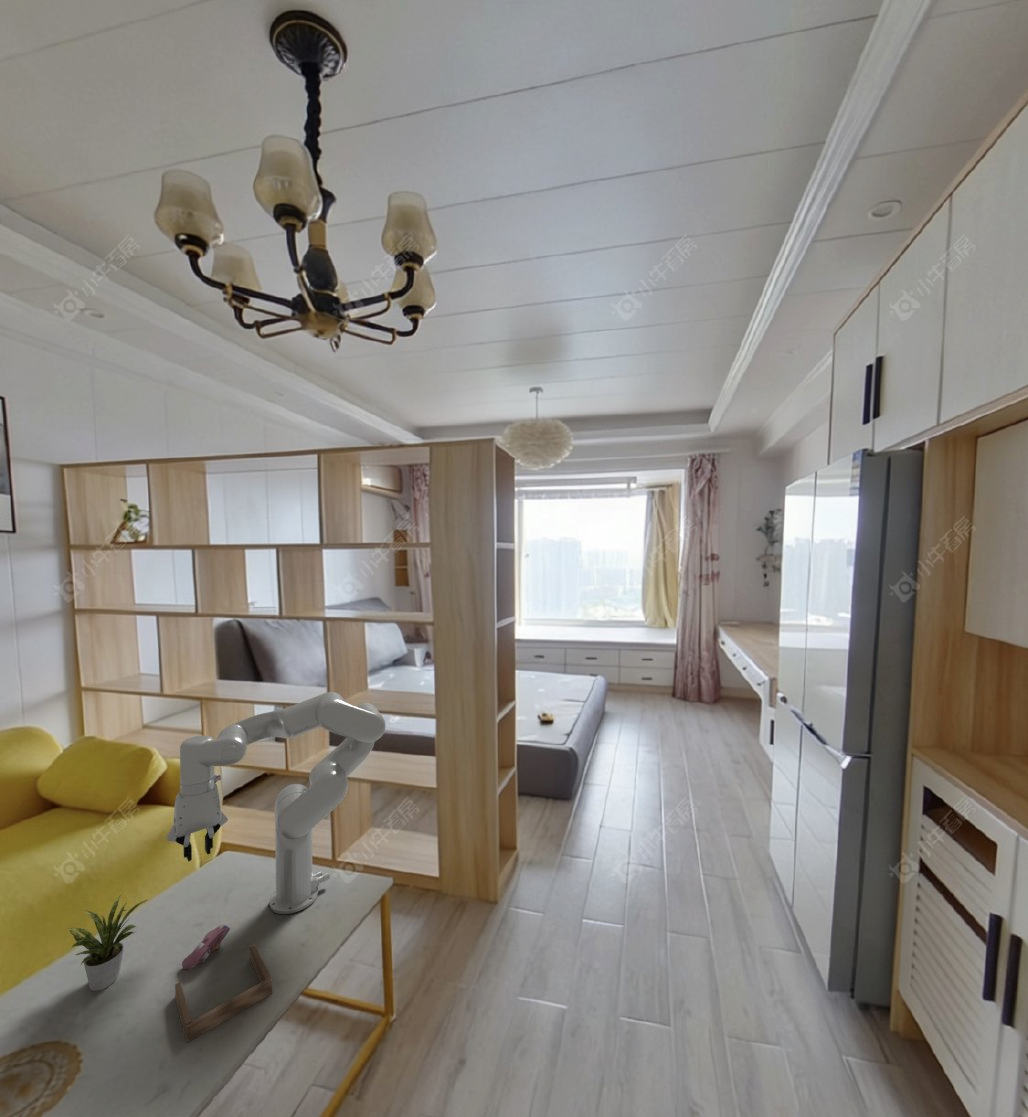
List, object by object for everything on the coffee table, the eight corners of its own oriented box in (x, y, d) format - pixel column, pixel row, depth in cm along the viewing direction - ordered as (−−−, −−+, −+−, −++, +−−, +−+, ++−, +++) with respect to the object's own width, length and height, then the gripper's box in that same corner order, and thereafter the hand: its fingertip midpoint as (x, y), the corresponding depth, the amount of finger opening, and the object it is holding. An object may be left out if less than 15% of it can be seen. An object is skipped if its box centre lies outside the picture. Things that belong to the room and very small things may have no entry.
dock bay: (254, 956, 118) (254, 944, 118) (272, 993, 108) (272, 980, 108) (175, 997, 107) (175, 984, 107) (186, 1042, 97) (186, 1028, 97)
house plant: (140, 941, 123) (139, 877, 123) (157, 971, 114) (156, 902, 114) (63, 980, 112) (62, 909, 112) (76, 1016, 103) (75, 940, 103)
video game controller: (193, 979, 114) (204, 955, 113) (178, 968, 114) (189, 943, 114) (225, 946, 123) (236, 923, 123) (211, 935, 124) (222, 913, 124)
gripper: (229, 771, 135) (230, 836, 136) (156, 791, 124) (157, 862, 124) (237, 780, 130) (237, 848, 130) (160, 802, 119) (161, 876, 119)
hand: (198, 854), depth 127 cm, fingers open, 3 cm apart
